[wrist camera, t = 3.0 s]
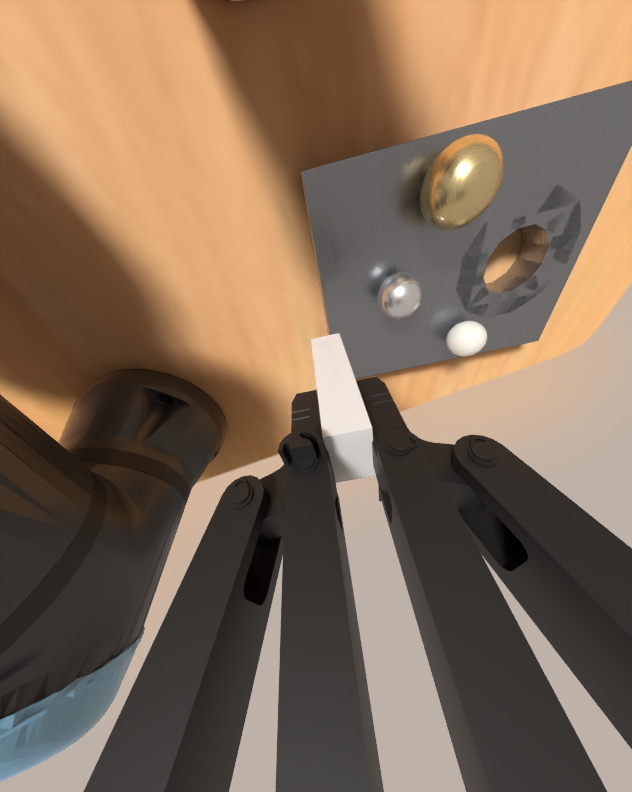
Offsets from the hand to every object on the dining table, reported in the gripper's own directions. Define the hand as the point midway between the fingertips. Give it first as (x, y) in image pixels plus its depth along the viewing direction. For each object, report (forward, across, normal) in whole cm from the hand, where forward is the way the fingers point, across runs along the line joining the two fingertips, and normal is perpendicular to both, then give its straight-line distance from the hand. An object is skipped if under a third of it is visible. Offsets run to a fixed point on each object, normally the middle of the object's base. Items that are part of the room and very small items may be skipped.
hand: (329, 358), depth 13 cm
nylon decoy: (+7, +12, -5) cm, 15 cm away
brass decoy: (+6, +9, +6) cm, 12 cm away
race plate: (+11, +10, 0) cm, 15 cm away
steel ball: (+6, +6, 0) cm, 9 cm away
